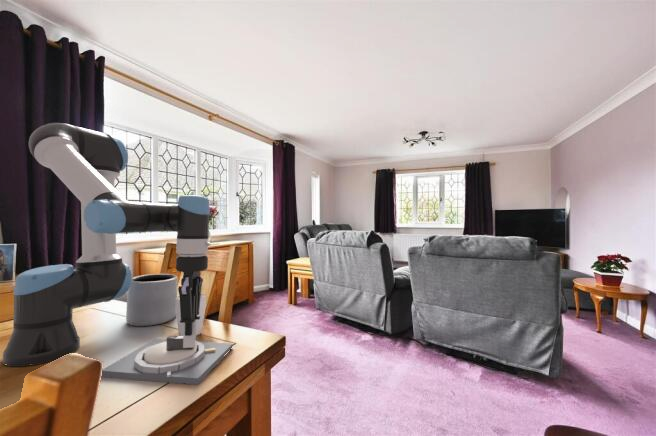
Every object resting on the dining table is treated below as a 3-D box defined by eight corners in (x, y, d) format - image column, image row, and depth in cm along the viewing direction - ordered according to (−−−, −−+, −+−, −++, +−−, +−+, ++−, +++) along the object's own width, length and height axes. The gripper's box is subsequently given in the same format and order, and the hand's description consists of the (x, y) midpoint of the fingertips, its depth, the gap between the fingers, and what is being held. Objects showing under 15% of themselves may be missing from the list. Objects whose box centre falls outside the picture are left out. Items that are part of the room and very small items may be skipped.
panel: (98, 378, 70) (99, 365, 70) (155, 343, 89) (155, 333, 89) (196, 386, 67) (196, 373, 67) (232, 348, 87) (232, 338, 87)
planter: (186, 315, 115) (187, 275, 115) (153, 330, 100) (154, 283, 100) (151, 311, 119) (152, 272, 119) (114, 325, 103) (115, 280, 103)
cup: (168, 338, 93) (169, 299, 93) (186, 327, 102) (187, 292, 102) (194, 340, 92) (195, 301, 92) (210, 330, 101) (211, 294, 101)
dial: (135, 369, 70) (135, 348, 70) (155, 347, 82) (156, 329, 82) (189, 366, 73) (189, 345, 73) (201, 345, 84) (201, 327, 84)
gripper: (200, 257, 72) (197, 356, 71) (213, 252, 84) (210, 337, 84) (167, 257, 71) (164, 358, 70) (185, 252, 83) (182, 338, 82)
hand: (189, 346), depth 77 cm, fingers closed
